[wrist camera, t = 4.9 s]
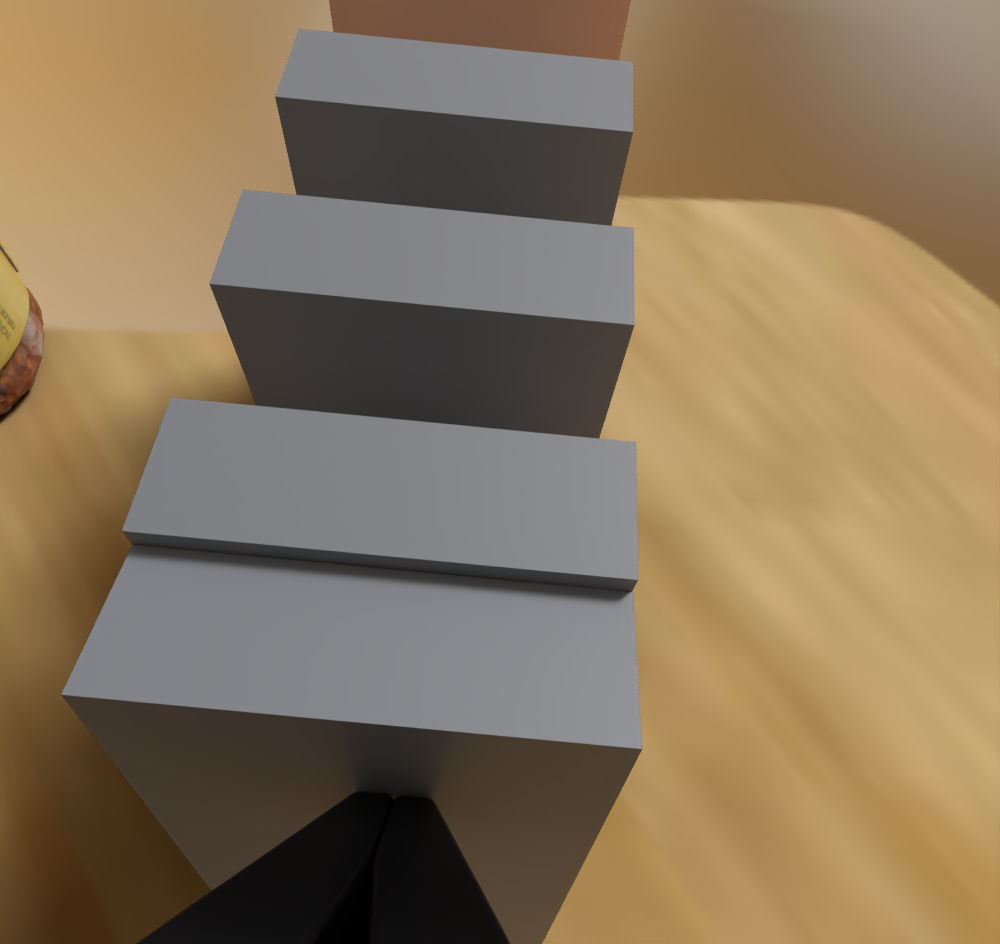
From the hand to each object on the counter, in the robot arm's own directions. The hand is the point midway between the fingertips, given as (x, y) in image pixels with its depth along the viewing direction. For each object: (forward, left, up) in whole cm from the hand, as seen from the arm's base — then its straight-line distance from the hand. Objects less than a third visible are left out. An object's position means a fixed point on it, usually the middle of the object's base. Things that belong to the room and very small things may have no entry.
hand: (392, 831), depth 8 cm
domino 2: (+3, -1, -8) cm, 9 cm away
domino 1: (-1, +1, -8) cm, 8 cm away
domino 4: (+9, -3, -8) cm, 13 cm away
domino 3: (+6, -2, -8) cm, 10 cm away
